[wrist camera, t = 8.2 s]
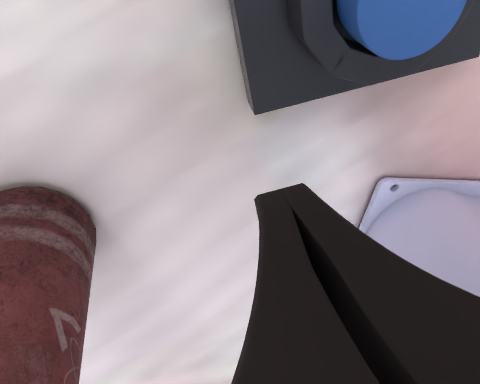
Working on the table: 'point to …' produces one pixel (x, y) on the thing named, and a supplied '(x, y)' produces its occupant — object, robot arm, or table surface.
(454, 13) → the blue button cap
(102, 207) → the table surface
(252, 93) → the button base
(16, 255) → the can
